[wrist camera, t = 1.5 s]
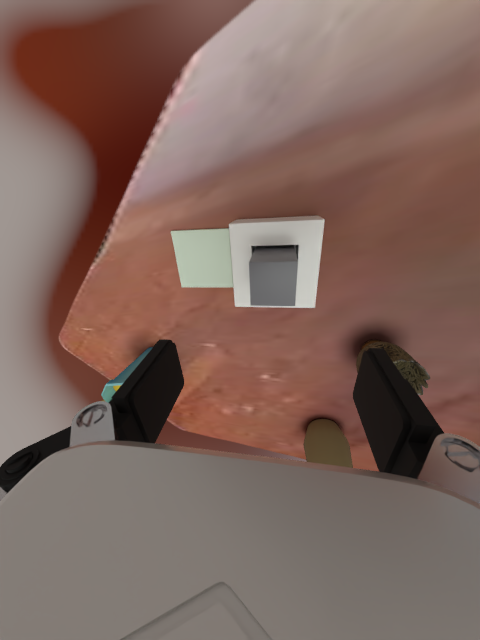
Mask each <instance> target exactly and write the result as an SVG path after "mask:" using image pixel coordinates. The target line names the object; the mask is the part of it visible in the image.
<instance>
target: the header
mask: <svg viewBox="0 0 480 640" xmlns="http://www.w3.org/2000/svg"><path fill="white" fill-rule="evenodd" d="M324 221H325V219H323V218H321V217H320V216H298V217H277V218H257V219H237V220H235V221H233V222H231V223H230V224H229V233H230V246H231V260H232V273H233V286H234V299H235V307H287V308H315V301H316V292H317V283H318V275H319V266H320V257H321V248H322V239H323V230H324ZM268 245H294V247H295V251H296V255H297V259H298V270H297V285H296V300H295V306H252V305H251V303H250V278H249V261H250V259H251V257H252V255H253V253H254V251H255V248H256V246H268Z"/></svg>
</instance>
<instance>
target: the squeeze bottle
mask: <svg viewBox="0 0 480 640" xmlns="http://www.w3.org/2000/svg"><path fill="white" fill-rule="evenodd" d="M304 450H305V455H306V460H307V462H311V463H319V464H327V465H335V466H343V467H349V468H353V465H352V459H351V453H350V446H349V443H348V441H347V439H346V437H345V436H344V434H343V433H342V431H341V430H340V428H339V427H338V425H337V424H336V423H335V422H333V421H331V420H328V419H318V420H314V421H312V422H311V423H310V424H309V425H308V428H307V432H306V436H305V440H304Z"/></svg>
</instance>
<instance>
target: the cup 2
mask: <svg viewBox="0 0 480 640" xmlns="http://www.w3.org/2000/svg"><path fill="white" fill-rule="evenodd" d="M368 348H383V349H384V350H385V351H386V352H387V354H388V355H389V357H390V358H391V360H392V361H393V363H394V364H395V366H396V367H397V369H398V370H399V372H400V373H401V375H402V376H403V378H405V379H406V380H408V381H409V383H410V384H411V385H412V387H413V388H414V390H415V391H416V393H417V394H419V395H423V389H422V386H424V387H425V388H428V384H427V383H426V380H429V379H430V376H429V375H428V373H427V372H426V371H425V369H424V368H423V367H422V366H421V365H420V364H419V363H418V362H416V361H415V360H414V359H413V358H412V357H411V356H410V355H409V354H408V353H407V352H405V351H404V350H403V349H402V348H400V347H399V346H397V345H395V344H392V343H389V342H382V341H380V340H369V341H367V342H365V343H364V344H363V346H362V347H361V351H360V353H359V354H358V357H357V361H356V366H357V372H358V371H359V367H360V363H361V359H362V355H363V352H364V351H367V350H368ZM421 385H422V386H421Z"/></svg>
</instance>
